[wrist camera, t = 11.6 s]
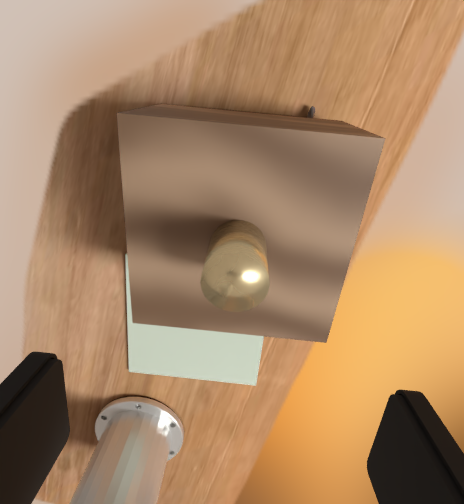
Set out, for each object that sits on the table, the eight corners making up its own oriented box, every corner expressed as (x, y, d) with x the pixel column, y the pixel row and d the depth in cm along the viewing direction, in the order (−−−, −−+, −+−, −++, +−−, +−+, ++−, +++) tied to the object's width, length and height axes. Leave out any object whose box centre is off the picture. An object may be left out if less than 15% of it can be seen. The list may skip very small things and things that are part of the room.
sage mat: (255, 383, 43) (255, 385, 42) (129, 369, 43) (128, 371, 43) (274, 268, 36) (274, 269, 36) (126, 252, 37) (125, 254, 36)
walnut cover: (306, 275, 36) (341, 393, 22) (163, 261, 36) (109, 369, 23) (341, 120, 29) (424, 154, 15) (160, 103, 29) (76, 121, 15)
